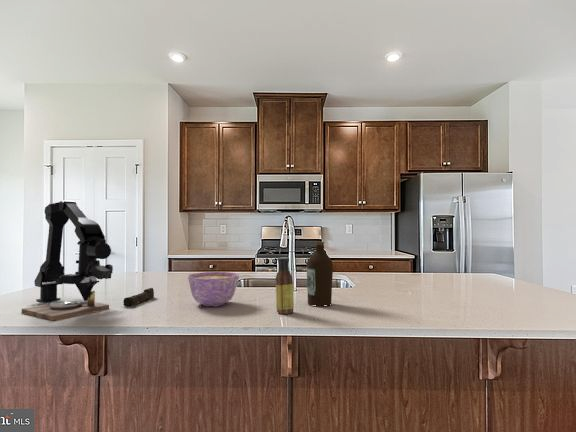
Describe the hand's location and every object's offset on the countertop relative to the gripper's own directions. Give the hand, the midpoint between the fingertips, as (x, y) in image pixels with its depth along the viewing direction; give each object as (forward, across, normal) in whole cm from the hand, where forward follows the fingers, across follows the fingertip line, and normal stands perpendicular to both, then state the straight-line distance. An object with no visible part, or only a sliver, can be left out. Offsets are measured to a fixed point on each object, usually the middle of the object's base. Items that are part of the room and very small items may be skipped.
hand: (85, 300), depth 132 cm
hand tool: (+4, +19, -9) cm, 21 cm away
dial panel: (+4, -1, +7) cm, 8 cm away
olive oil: (+2, +34, -80) cm, 87 cm away
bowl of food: (+3, +23, -39) cm, 46 cm away
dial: (+2, 0, +5) cm, 6 cm away
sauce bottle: (+3, +17, -70) cm, 72 cm away
